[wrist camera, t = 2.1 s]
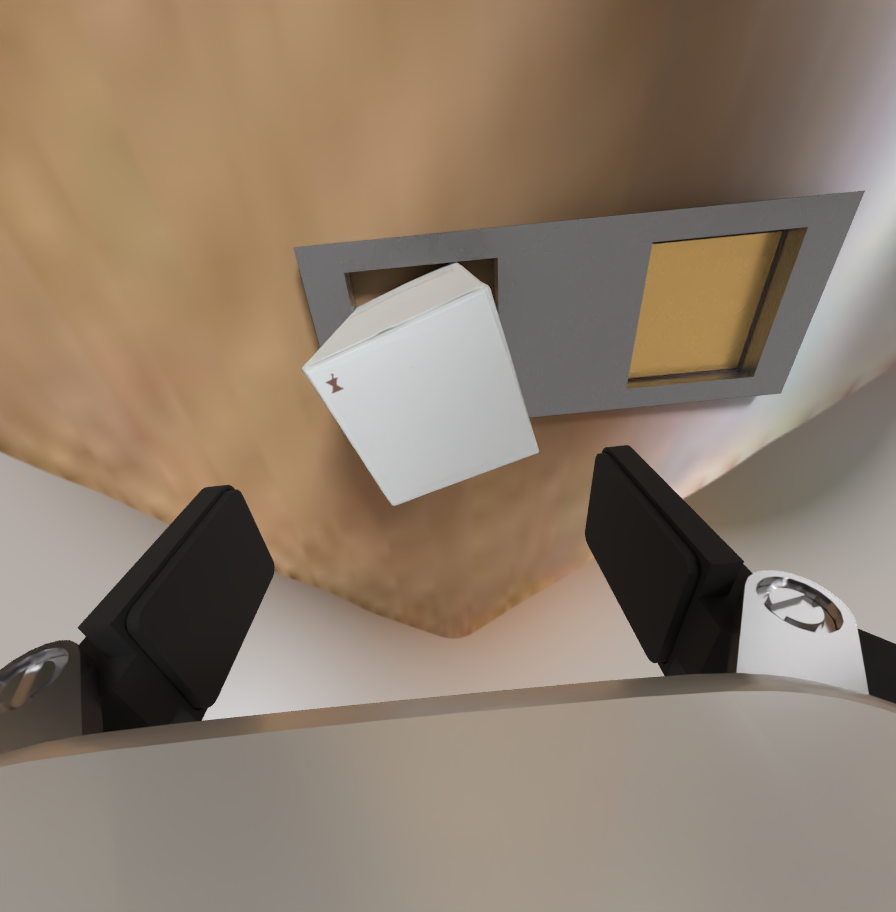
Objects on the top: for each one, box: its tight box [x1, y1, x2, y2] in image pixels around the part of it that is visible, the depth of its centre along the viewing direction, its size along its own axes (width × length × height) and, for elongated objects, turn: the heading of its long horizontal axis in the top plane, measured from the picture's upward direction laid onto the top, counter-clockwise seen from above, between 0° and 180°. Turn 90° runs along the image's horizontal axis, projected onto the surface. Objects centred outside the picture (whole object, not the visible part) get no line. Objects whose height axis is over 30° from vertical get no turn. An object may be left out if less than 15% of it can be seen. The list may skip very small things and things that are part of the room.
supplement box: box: [302, 262, 539, 506], centre depth 20 cm, size 7×7×13 cm
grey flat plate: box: [294, 191, 865, 435], centre depth 24 cm, size 12×32×2 cm, turn 95°
